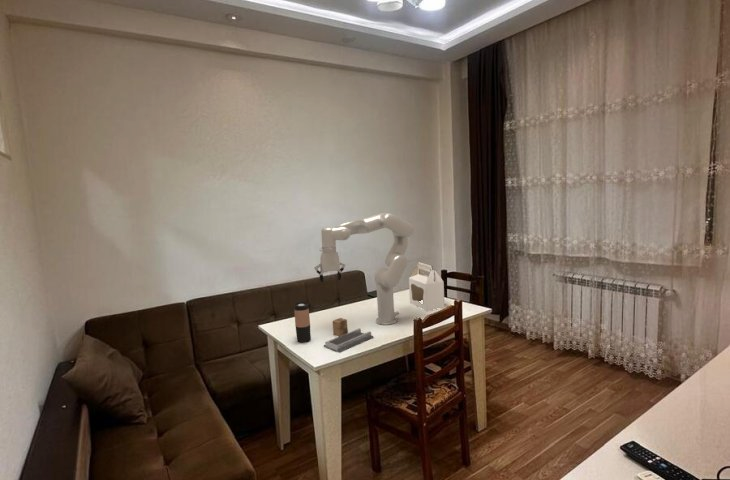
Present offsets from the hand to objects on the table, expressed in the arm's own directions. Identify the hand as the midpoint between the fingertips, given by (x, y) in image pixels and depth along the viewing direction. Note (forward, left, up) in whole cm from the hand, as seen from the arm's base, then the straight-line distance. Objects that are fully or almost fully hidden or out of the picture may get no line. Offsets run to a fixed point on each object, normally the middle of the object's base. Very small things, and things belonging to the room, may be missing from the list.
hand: (330, 280), depth 214 cm
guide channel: (+6, +19, -29) cm, 35 cm away
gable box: (-68, +15, -29) cm, 75 cm away
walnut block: (+1, +7, -29) cm, 30 cm away
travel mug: (+19, -2, -29) cm, 35 cm away
